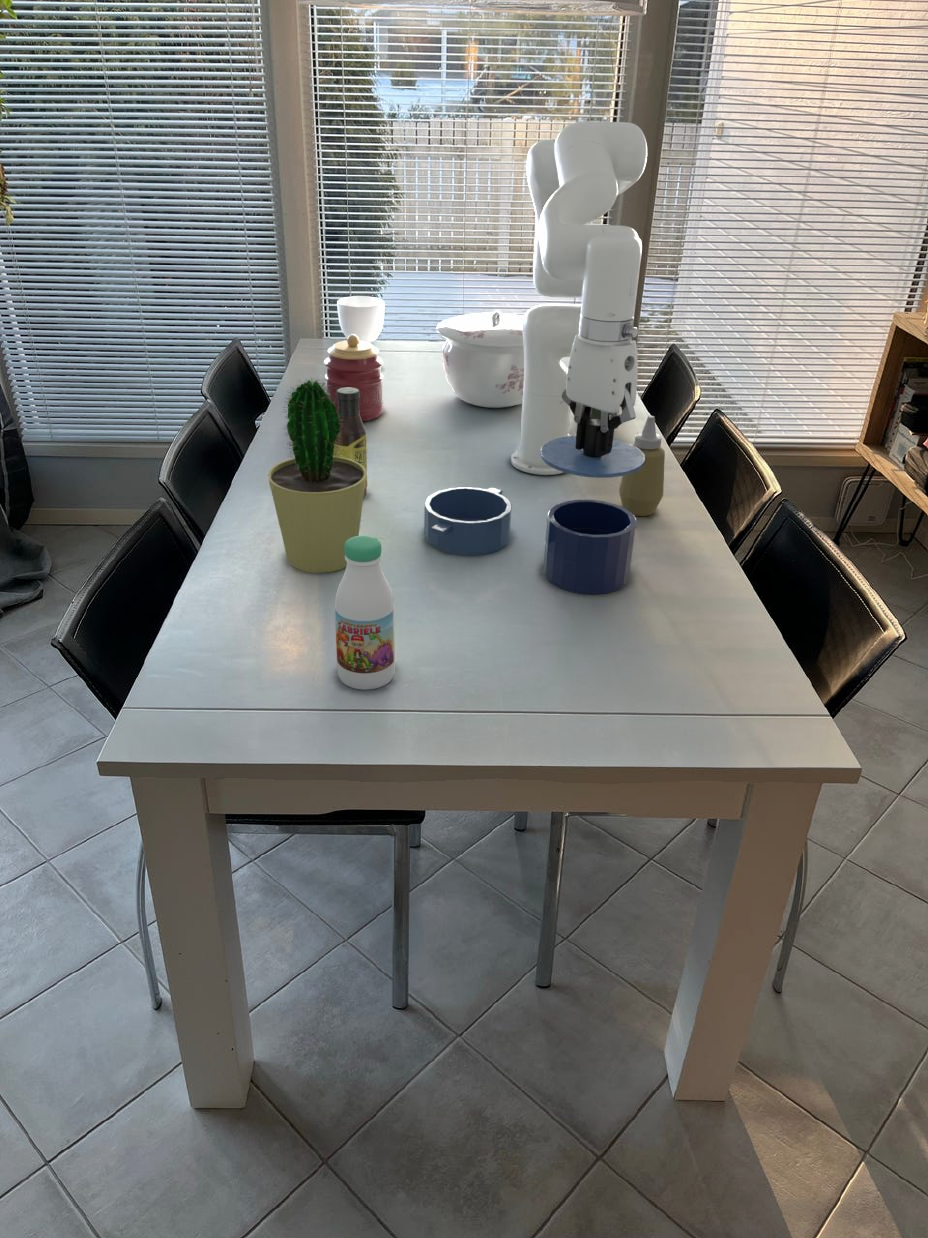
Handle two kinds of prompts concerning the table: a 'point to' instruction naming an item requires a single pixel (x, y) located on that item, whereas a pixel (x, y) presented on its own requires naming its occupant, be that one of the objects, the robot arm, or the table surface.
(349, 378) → the kitchen canister
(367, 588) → the milk bottle
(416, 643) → the table surface
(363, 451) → the sauce bottle
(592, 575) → the pot
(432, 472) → the table surface
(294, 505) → the potted cactus
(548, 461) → the lid
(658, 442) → the squeeze bottle
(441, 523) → the pan
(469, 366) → the chamber pot
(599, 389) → the robot arm
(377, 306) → the cup
